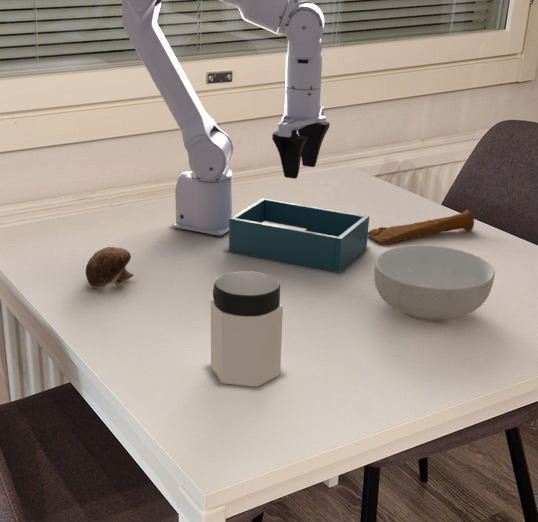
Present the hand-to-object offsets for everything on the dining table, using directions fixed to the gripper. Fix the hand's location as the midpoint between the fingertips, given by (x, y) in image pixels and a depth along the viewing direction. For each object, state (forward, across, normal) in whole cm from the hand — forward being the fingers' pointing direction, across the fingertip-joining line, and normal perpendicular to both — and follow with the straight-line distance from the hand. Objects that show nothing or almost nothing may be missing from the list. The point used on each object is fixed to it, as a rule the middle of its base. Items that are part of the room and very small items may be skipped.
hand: (300, 171), depth 162 cm
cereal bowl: (+11, -22, -31) cm, 39 cm away
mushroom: (+10, -36, +15) cm, 41 cm away
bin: (+10, -8, -4) cm, 14 cm away
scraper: (+10, -8, -4) cm, 13 cm away
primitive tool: (+11, +9, -20) cm, 24 cm away
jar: (+11, -52, -16) cm, 55 cm away
